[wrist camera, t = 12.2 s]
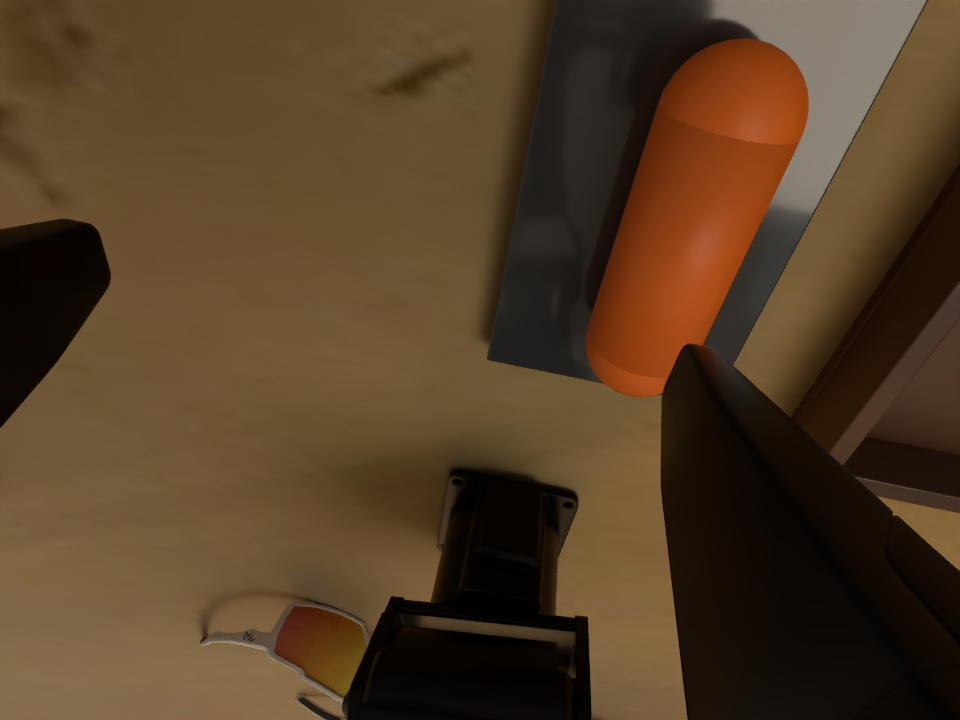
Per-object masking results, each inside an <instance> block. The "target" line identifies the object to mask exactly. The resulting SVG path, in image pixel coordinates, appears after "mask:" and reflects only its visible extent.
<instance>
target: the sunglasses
mask: <svg viewBox="0 0 960 720" xmlns="http://www.w3.org/2000/svg"><path fill="white" fill-rule="evenodd" d="M214 642H224V643H232V644H238V645H243V646H247V647H251V648H256V649H260V650H264V651H265V652H266V654H267V656H268V657H269V658H271V659H273V660H275V661H277V662H279V663H281V664H283V665H285V666H286V667H288V668H290V669H292V670H294V671H295V672H297V675H298V677H299V678H300V679H302V680H304V681H305V682H307V683H308V684H310V685H312V686H313V687H315V688H317V689H319V690H320V691H322V692H324V693H325V694H327V695H329V696H330V697H332V698H334V699H335V700H337V701H338V702H340V703H343V699H344V697H345V695H346V693H347V692H348V690H349V689H350V686H351V683H352V681H353V678H354V676H355V674H356V672H357V669H358V667H359V665H360V662H361V660H362V658H363V656H364V653H365V651H366V649H367V646H368V644H369V642H370V640H369V637H368V633H367V629H366V625H365V624H364V622H362V621H361V620H359V619H357V618H356V617H354V616H352V615H350V614H347V613H345V612H343V611H340V610H338V609H335V608H332V607H329V606H324V605H320V604H315V603H310V602H293V603H290V604H289V605H288V606H287V608H286V609H285V610H284V611H283V613H282V614H281V616H280V618H279V619H278V621H277V623H276V624H275V626H274V628H273V630H272V632H271V633H264V632H259V631H256V630H254V629H250V630H247V631H244V632H238V633H223V632H220V631H217V632H215V633H212V634H210V635H205V636H203V638H202V639H201V641H200V645H208V644H210V643H214ZM305 674H306V675H305ZM312 678H313V679H312ZM326 687H327V688H326ZM295 700H296V701H297V702H298V703H299V704H300V705H302V706H303V707H304V708H306V709H307V710H308V711H310V712H311V713H313V714H314V715H316V716H317V717H319V718H321V719H322V720H347V719H346V717H344V716H340V715H336V714H333V713H331V712H329V711H327V710H325V709H323V708H322V707H320V706H319V705H317V704H316V703H314V702H312V701H311V700H309V699H308V698H306V697H305V696H303V695H300V696H298V697H296V698H295Z"/></svg>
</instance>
